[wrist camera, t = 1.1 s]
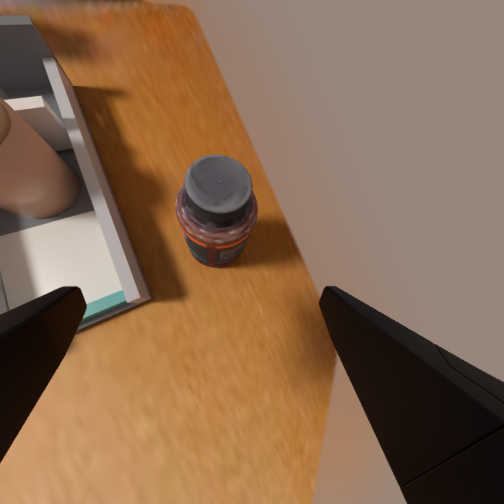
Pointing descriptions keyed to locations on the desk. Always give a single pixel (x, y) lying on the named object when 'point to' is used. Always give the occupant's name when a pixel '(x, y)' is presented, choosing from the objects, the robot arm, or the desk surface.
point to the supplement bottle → (216, 209)
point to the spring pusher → (41, 120)
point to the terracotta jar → (32, 171)
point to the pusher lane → (78, 215)
